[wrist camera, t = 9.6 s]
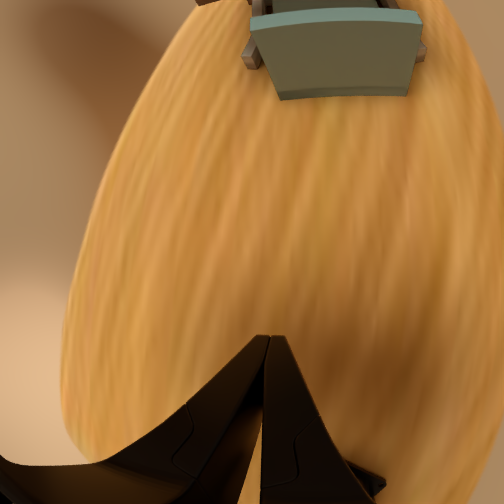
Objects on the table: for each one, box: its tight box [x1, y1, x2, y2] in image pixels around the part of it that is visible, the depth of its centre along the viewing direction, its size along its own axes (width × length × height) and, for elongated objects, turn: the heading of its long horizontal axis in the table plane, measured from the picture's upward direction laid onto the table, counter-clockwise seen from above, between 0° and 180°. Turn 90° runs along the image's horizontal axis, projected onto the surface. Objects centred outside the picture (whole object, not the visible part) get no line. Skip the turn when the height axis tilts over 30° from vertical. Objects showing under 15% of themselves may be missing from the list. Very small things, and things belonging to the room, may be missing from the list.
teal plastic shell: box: [250, 0, 423, 101], centre depth 18 cm, size 14×11×9 cm
